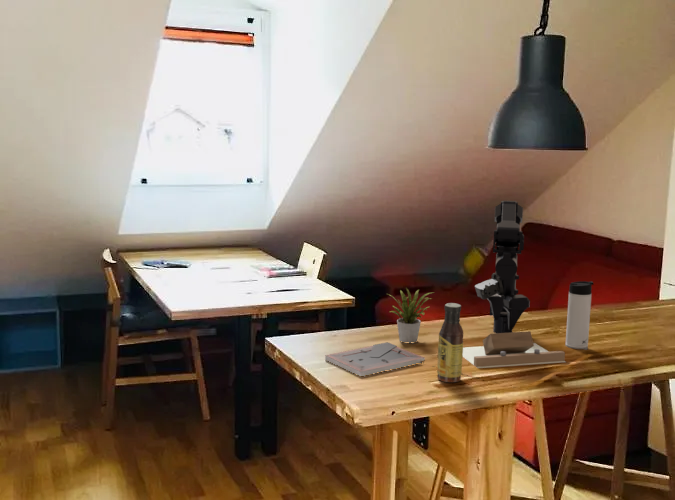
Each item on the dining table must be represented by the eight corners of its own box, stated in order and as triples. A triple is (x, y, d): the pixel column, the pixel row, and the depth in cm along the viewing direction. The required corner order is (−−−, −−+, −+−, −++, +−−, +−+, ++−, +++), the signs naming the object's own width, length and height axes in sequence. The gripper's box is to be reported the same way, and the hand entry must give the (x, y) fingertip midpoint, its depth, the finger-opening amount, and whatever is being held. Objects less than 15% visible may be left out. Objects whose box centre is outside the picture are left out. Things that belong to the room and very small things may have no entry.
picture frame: (387, 350, 226) (325, 363, 214) (387, 341, 225) (325, 354, 213) (424, 365, 213) (360, 380, 200) (424, 356, 212) (360, 370, 200)
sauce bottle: (434, 375, 202) (437, 301, 199) (458, 375, 203) (461, 301, 199) (439, 384, 196) (442, 307, 192) (464, 384, 196) (467, 307, 193)
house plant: (445, 341, 232) (448, 288, 230) (417, 351, 222) (419, 295, 220) (408, 332, 242) (409, 280, 239) (379, 341, 232) (380, 287, 229)
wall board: (451, 350, 224) (452, 336, 223) (534, 345, 230) (535, 331, 229) (477, 370, 206) (478, 355, 206) (566, 364, 212) (567, 349, 212)
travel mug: (589, 352, 224) (594, 284, 220) (566, 350, 225) (570, 283, 222) (587, 346, 230) (592, 279, 226) (564, 344, 231) (568, 278, 228)
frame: (485, 354, 218) (482, 339, 220) (524, 352, 221) (521, 336, 222) (493, 348, 212) (490, 332, 214) (533, 345, 215) (530, 330, 217)
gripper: (465, 265, 224) (463, 317, 227) (494, 279, 206) (491, 336, 209) (501, 263, 227) (498, 315, 230) (532, 277, 209) (529, 333, 212)
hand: (503, 324), depth 220 cm, fingers open, 9 cm apart
